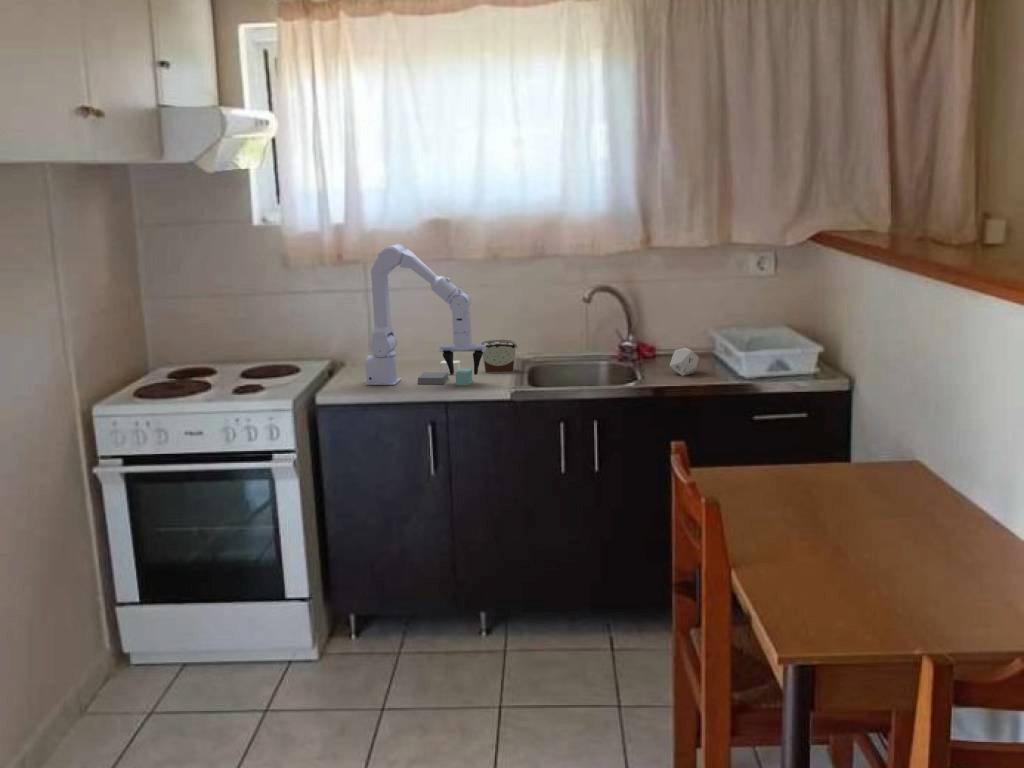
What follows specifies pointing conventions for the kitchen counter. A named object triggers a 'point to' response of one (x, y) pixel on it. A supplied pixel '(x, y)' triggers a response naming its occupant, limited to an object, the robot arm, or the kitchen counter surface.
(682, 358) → the die
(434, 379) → the charcoal slab
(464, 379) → the teal brick
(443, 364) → the cream brick
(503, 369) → the food container
